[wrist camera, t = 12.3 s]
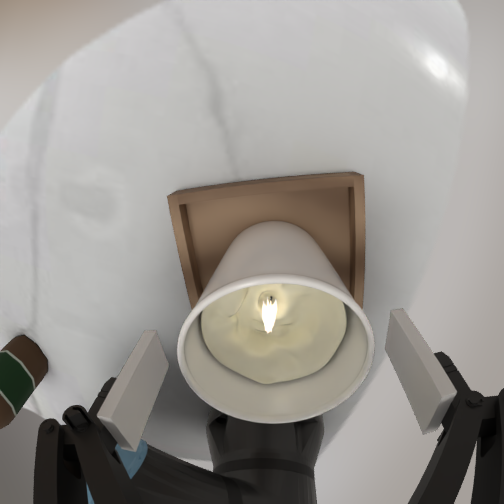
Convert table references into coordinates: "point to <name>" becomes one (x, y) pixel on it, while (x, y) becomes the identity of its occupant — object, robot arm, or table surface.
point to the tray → (272, 209)
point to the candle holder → (275, 330)
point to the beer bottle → (19, 375)
